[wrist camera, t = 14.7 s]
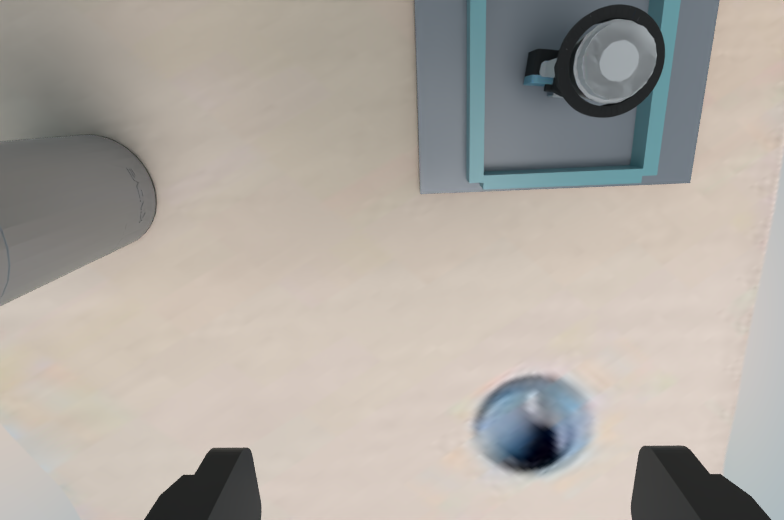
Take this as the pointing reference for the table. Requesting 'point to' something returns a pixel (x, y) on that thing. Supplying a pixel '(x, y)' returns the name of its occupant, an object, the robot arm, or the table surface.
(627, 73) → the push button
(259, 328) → the table surface
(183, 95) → the table surface
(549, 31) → the dock
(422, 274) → the table surface
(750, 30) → the table surface
